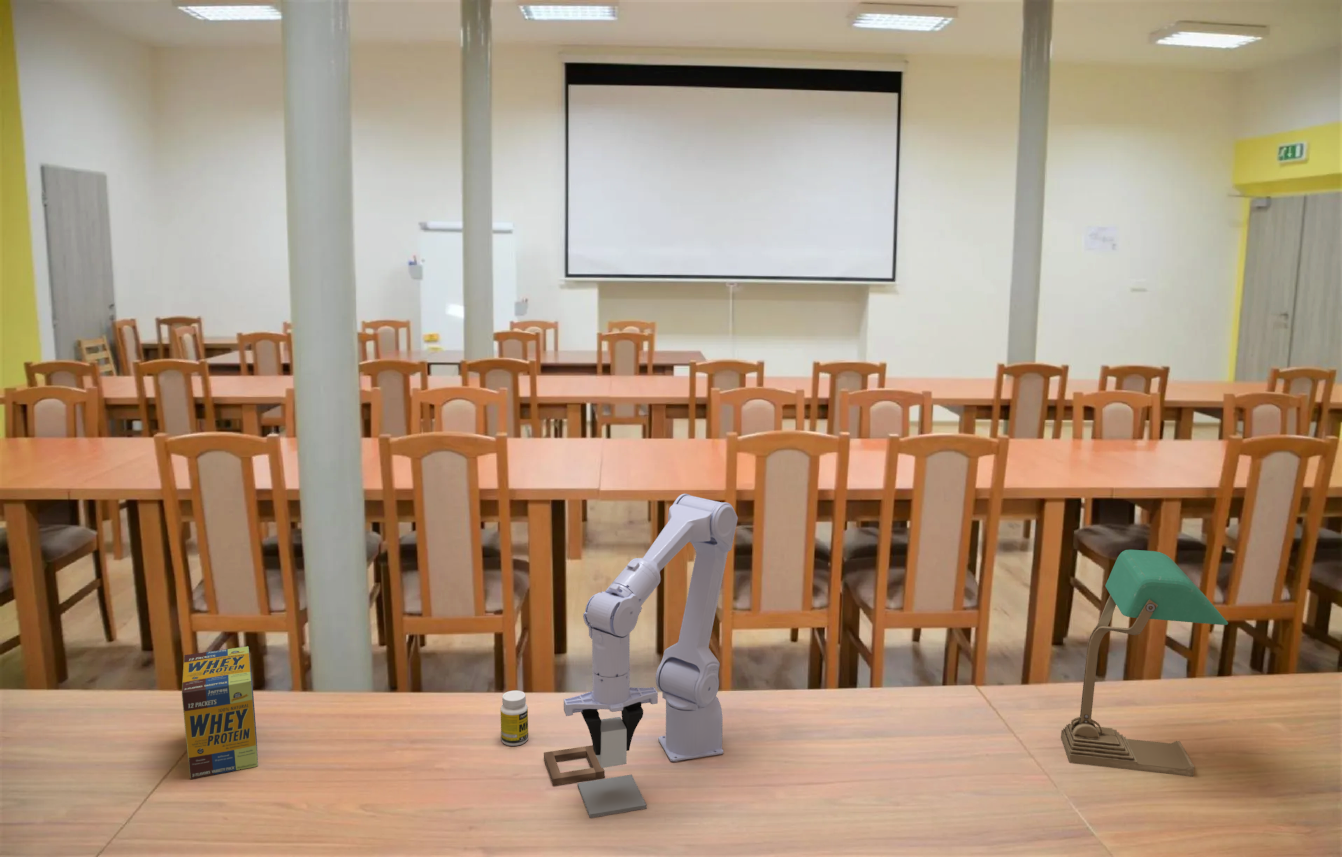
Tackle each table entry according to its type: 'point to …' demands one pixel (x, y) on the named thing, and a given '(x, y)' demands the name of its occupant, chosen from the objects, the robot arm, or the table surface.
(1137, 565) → the banker's lamp
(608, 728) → the block
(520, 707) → the supplement bottle
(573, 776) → the holder
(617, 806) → the coaster
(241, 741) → the protein box
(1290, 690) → the table surface
